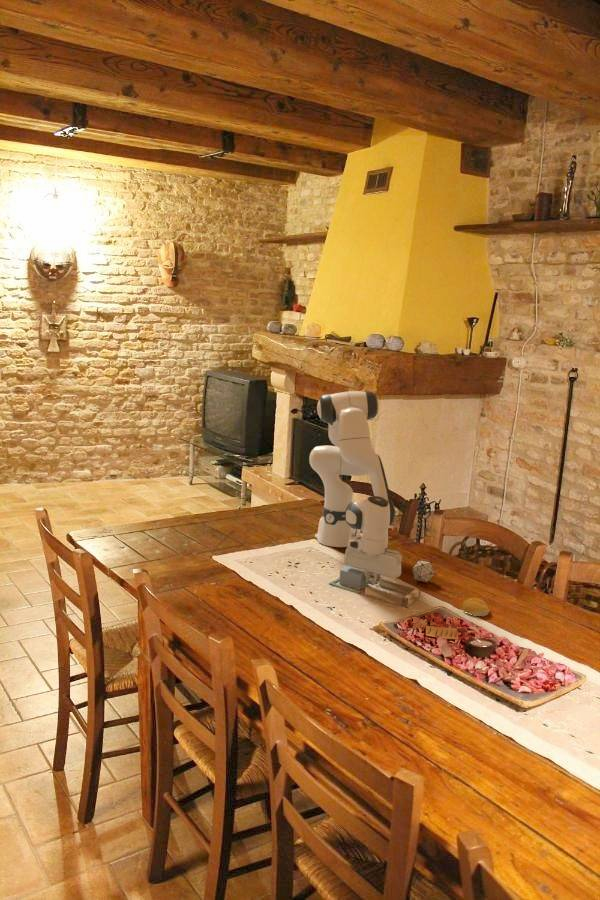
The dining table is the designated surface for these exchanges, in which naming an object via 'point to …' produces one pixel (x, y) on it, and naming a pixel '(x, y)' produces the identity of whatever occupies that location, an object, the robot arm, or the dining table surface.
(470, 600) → the bread roll
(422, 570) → the game die
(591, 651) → the dining table surface
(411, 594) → the beige c-shaped frame
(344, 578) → the block
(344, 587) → the frame
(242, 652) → the dining table surface
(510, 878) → the dining table surface
